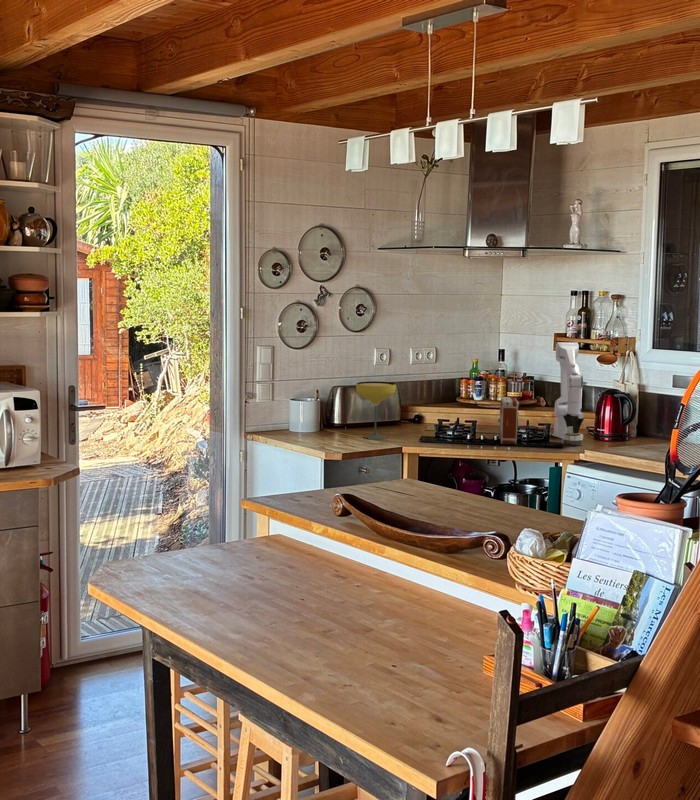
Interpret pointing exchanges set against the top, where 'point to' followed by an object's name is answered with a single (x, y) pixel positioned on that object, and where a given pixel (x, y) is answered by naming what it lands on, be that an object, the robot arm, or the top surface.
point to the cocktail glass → (375, 397)
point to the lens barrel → (572, 440)
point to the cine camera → (508, 420)
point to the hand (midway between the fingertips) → (572, 432)
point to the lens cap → (571, 431)
